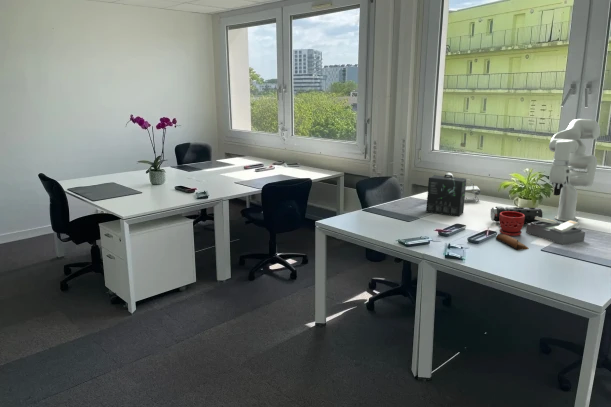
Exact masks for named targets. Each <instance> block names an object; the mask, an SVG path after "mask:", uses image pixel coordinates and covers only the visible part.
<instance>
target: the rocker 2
mask: <svg viewBox="0 0 611 407" xmlns="http://www.w3.org/2000/svg"><path fill="white" fill-rule="evenodd" d="M577 226H579V222H578V221H571V220H569V221H567V222H565V221H564V222H563V223H561V224H560V225H559V226H557V227H555V228H554V230H557V231H560V232H565V231H567V230H569V229H571V228H573V227H575V228H576V227H577Z"/></svg>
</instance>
